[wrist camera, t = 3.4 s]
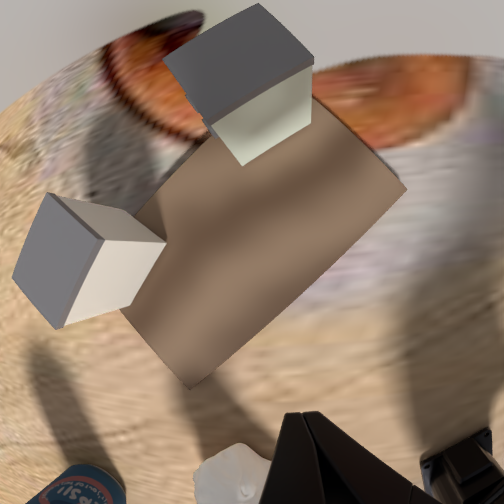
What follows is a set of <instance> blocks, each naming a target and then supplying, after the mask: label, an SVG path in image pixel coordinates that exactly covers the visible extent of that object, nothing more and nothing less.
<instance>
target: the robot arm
mask: <svg viewBox="0 0 504 504" xmlns="http://www.w3.org/2000/svg"><path fill="white" fill-rule="evenodd" d="M426 465H427V466H426ZM420 469H421V474H422V479H423V484H424V489H425V492H424V491H423V490H422V489H420V488H419V487H417V486H416V485H413V484H412V483H411V482H410V481H408V480H407V479H406V478H404V477H403V476H402V475H400V474H399V473H397V472H396V471H395V470H393V469H392V468H391V467H389V466H388V465H386V464H385V463H384V462H382V461H381V460H380V459H378V458H377V457H376V456H375V455H373V454H372V453H371V452H369V451H368V450H367V449H365V448H364V447H363V446H361V445H360V444H359V443H358V442H356V441H355V440H354V439H353V438H351V437H350V436H349V435H347V434H346V433H345V432H344V431H342V430H341V429H340V428H339V427H338V426H336V425H335V424H334V423H333V422H331V421H330V420H329V419H328V418H326V417H325V416H324V415H323V414H322V413H320V412H319V411H309V412H303V413H300V412H293V413H286V414H285V415H284V419H283V422H282V426H281V430H280V433H279V437H278V440H277V444H276V447H275V451H274V454H273V458H272V461H271V465H270V468H269V471H268V475H267V478H266V481H265V484H264V488H263V491H262V494H261V497H260V500H259V503H258V504H504V470H503V469H502V468H501V466H500V465H499V464H498V463H497V461H496V460H495V459H494V458H493V457H492V431H491V430H490V429H489V428H488V427H487V428H484V429H483V430H481V431H479V432H478V433H476V434H474V435H472V436H471V437H469V438H467V439H465V440H464V441H462V442H460V443H458V444H456V445H454V446H453V447H451V448H449V449H447V450H445V451H443V452H441V453H439V454H437V455H435V456H433V457H431V458H429V459H426V460H424V461H423V462H422V463H421V465H420ZM412 485H413V486H412Z"/></svg>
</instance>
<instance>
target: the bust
mask: <svg viewBox="0 0 504 504" xmlns="http://www.w3.org/2000/svg"><path fill="white" fill-rule="evenodd" d="M270 465H271V461H269V460H267V459H264V458H262V457H260V456H259V455H258V454H257V453H256V452H254V451H253V450H252V449H251V448H249V447H248V446H247V445H245V444H243V443H236V444H234V445H232V446H230V447H228V448H226V449H224V450H223V451H221V452H219V453H217V454H216V455H215V456H213V457H210V458H208V459H206V460H205V461H204V462H203V463H202V464H201V465H200V466H199V468H198V469H197V470H196V471H195V472H194V474H193V481H194V483H195V485H194V486H195V490H194V495H195V498H196V501H197V504H258V503H259V500H260V497H261V494H262V491H263V488H264V484H265V481H266V478H267V475H268V471H269V468H270Z"/></svg>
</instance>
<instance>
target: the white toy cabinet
mask: <svg viewBox="0 0 504 504" xmlns="http://www.w3.org/2000/svg"><path fill="white" fill-rule="evenodd" d="M166 244H167V243H166V242H165V241H164V240H162V239H161V238H160V237H158V236H157V235H156V234H154V233H153V232H152V231H150V230H149V229H148V228H147V227H145V226H144V225H143V224H141V223H140V222H139V221H137V220H136V219H135V218H134V217H132V216H131V215H130V214H129V213H127V212H126V211H125V210H123V209H118V208H114V207H109V206H104V205H99V204H95V203H90V202H85V201H80V200H76V199H71V198H66V197H61V196H56V195H55V194H53V193H48V192H47V193H46V195H45V197H44V199H43V201H42V203H41V205H40V208H39V210H38V212H37V214H36V216H35V219H34V221H33V223H32V226H31V228H30V230H29V233H28V235H27V238H26V240H25V243H24V245H23V248H22V250H21V253H20V256H19V258H18V261H17V264H16V267H15V269H14V272H13V275H12V279H13V280H14V281H15V283H16V284H17V285H18V287H19V288H20V289H21V290H22V292H23V293H24V294H25V295H26V296H27V298H28V299H29V300H30V301H31V303H32V304H33V305H34V306H35V307H36V308H37V310H38V311H39V312H40V313H41V314H42V315H43V316H44V318H45V319H46V320H47V321H48V322H49V323H50V324H51V325H52V327H53V328H54V329H55V330H57V329H60V328H63V327H64V326H65V325H68V324H71V323H75V322H78V321H81V320H84V319H88V318H91V317H94V316H98V315H101V314H104V313H107V312H111V311H114V310H117V309H120V308H123V307H127V306H130V305H131V303H132V301H133V299H134V297H135V296H136V294H137V292H138V291H139V289H140V287H141V285H142V284H143V282H144V280H145V279H146V277H147V275H148V273H149V272H150V270H151V268H152V267H153V265H154V263H155V262H156V260H157V258H158V257H159V255H160V253H161V252H162V250H163V249H164V247H165V245H166Z"/></svg>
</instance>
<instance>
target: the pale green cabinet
mask: <svg viewBox="0 0 504 504" xmlns="http://www.w3.org/2000/svg"><path fill="white" fill-rule="evenodd" d="M162 60H163V61H164V63H165V64H166V65H167V67H168V68H169V70H170V71H171V72H172V74H173V75H174V77H175V78H176V80H177V81H178V82H179V84H180V85H181V87H182V88H183V89H184V91H185V92H186V95H185V96H186V98H187V99H188V101H189V102H190V104H191V105H192V106H193V108H194V109H195V110H196V112H197V113H200V114H201V115H202V117H203V119H202V121H203V123H204V124H205V126H206V127H207V128H208V130H209V131H210V133H211V134H212V135H213V137H214V138H215V139H217V138H218V137H220V138H221V139H222V141H223V142H224V143H225V145H226V146H227V147H228V148H229V150H230V151H231V152H232V154H233V155H234V156H235V158H236V159H237V160H238V162H239V163H240V164H241V165H242V166H244V165H245V164H247V163H248V162H250V161H251V160H253V159H254V158H256V157H257V156H259V155H260V154H262V153H264V152H265V151H267V150H268V149H270V148H271V147H273V146H275V145H276V144H278V143H279V142H281V141H283V140H284V139H286V138H287V137H289V136H291V135H292V134H294V133H296V132H297V131H299V130H301V129H302V128H304V127H305V126H307V125H309V124H310V123H311V104H312V65H313V64H314V56H313V55H312V54H311V53H310V52H309V51H308V50H307V49H306V48H305V47H304V46H303V45H302V44H301V43H300V42H299V41H298V40H297V39H296V38H295V37H294V36H293V35H292V34H291V33H290V32H289V31H288V30H287V29H286V28H285V27H284V26H283V25H282V24H281V23H280V22H279V21H278V20H277V19H276V18H275V17H274V16H273V15H271V14H270V13H269V12H268V11H267V10H266V9H265V8H264V7H263V6H261V5H260V4H259V3H258V4H255V5H253V6H251V7H249V8H247V9H245V10H243V11H241V12H239V13H237V14H235V15H234V16H232V17H230V18H228V19H226V20H224V21H223V22H221V23H219V24H217V25H215V26H214V27H212V28H210V29H209V30H207V31H205V32H203V33H202V34H200V35H198V36H197V37H195V38H194V39H192V40H190V41H189V42H187V43H186V44H184V45H183V46H181V47H179V48H178V49H176V50H175V51H173V52H172V53H170V54H169V55H167V56H166V57H164V58H163V59H162Z"/></svg>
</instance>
